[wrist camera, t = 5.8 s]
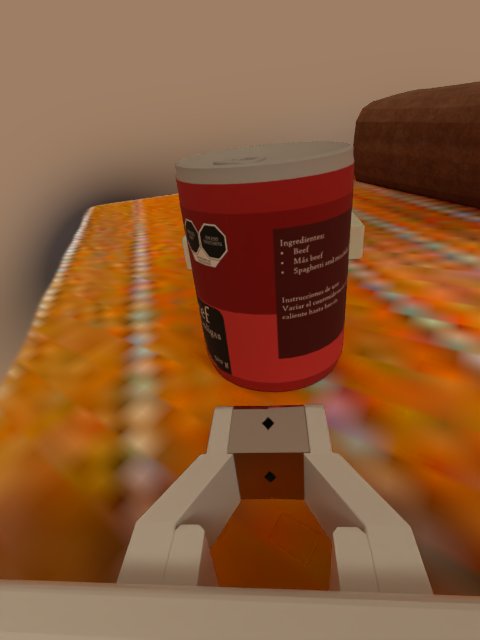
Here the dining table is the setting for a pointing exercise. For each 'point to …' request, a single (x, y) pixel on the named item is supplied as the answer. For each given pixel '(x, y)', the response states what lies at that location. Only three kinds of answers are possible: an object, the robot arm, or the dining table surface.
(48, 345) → the dining table surface
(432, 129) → the bread
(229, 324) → the canned food
